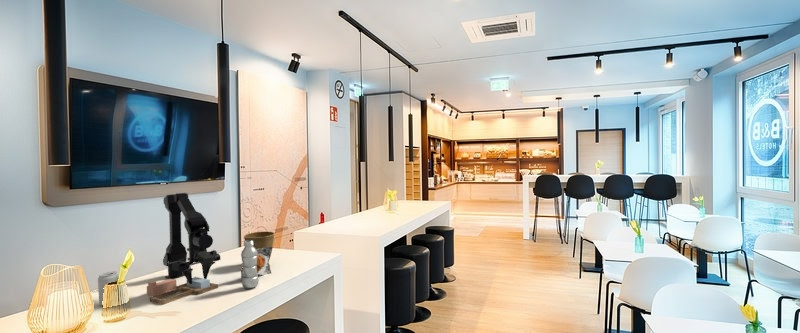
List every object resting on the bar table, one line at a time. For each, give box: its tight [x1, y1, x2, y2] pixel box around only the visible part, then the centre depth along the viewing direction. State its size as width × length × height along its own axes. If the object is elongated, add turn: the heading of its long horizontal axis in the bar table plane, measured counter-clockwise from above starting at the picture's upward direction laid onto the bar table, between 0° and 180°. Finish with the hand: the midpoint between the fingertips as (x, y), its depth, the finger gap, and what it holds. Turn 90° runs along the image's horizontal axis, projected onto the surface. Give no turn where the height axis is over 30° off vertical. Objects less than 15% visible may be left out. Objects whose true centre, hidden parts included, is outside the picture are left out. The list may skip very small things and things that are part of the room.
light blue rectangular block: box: [186, 276, 211, 289], centre depth 161 cm, size 10×4×4 cm, turn 61°
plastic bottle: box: [240, 240, 260, 289], centre depth 160 cm, size 6×7×20 cm
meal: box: [240, 247, 273, 282], centre depth 173 cm, size 15×4×13 cm, turn 152°
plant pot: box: [243, 231, 275, 264], centre depth 195 cm, size 15×15×16 cm
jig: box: [149, 282, 219, 305], centre depth 156 cm, size 15×22×2 cm
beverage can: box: [97, 271, 119, 306], centre depth 147 cm, size 6×6×12 cm
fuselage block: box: [146, 278, 178, 297], centre depth 159 cm, size 4×10×6 cm, turn 156°
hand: (198, 281), depth 161 cm, fingers open, 6 cm apart
